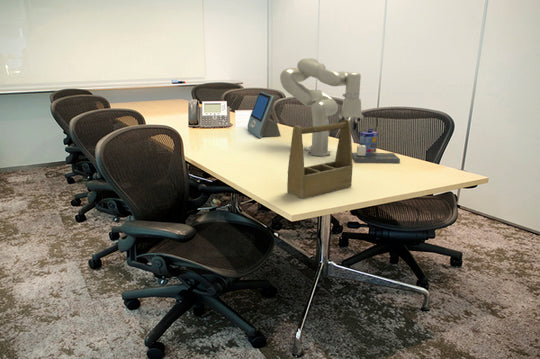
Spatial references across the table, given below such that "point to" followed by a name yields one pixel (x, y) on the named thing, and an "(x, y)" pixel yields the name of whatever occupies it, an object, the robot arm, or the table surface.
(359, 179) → the table surface
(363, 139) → the ink cartridge box
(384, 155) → the panel
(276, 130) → the touchscreen device
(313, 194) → the caddy
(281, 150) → the table surface
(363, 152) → the fader
